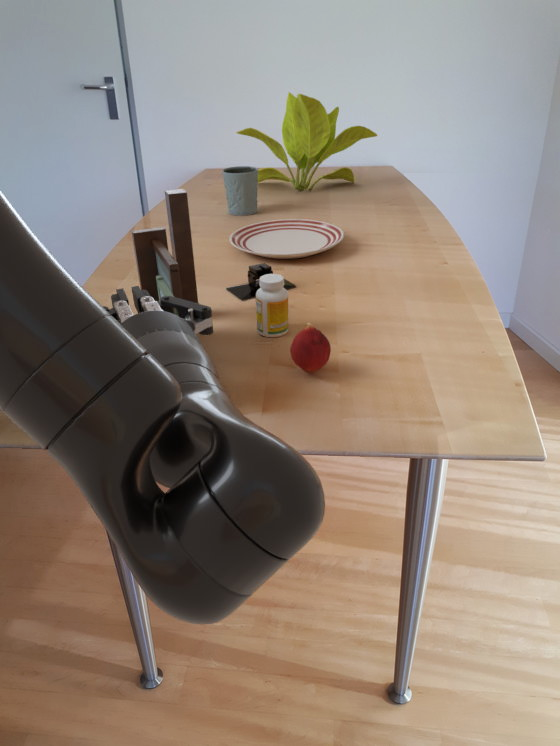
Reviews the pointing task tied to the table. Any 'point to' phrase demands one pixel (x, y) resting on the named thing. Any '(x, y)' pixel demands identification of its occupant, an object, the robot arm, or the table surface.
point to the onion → (310, 349)
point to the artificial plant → (308, 141)
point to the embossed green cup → (241, 189)
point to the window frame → (155, 261)
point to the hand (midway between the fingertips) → (128, 296)
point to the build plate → (254, 282)
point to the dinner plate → (287, 238)
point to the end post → (182, 241)
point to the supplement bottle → (272, 306)
